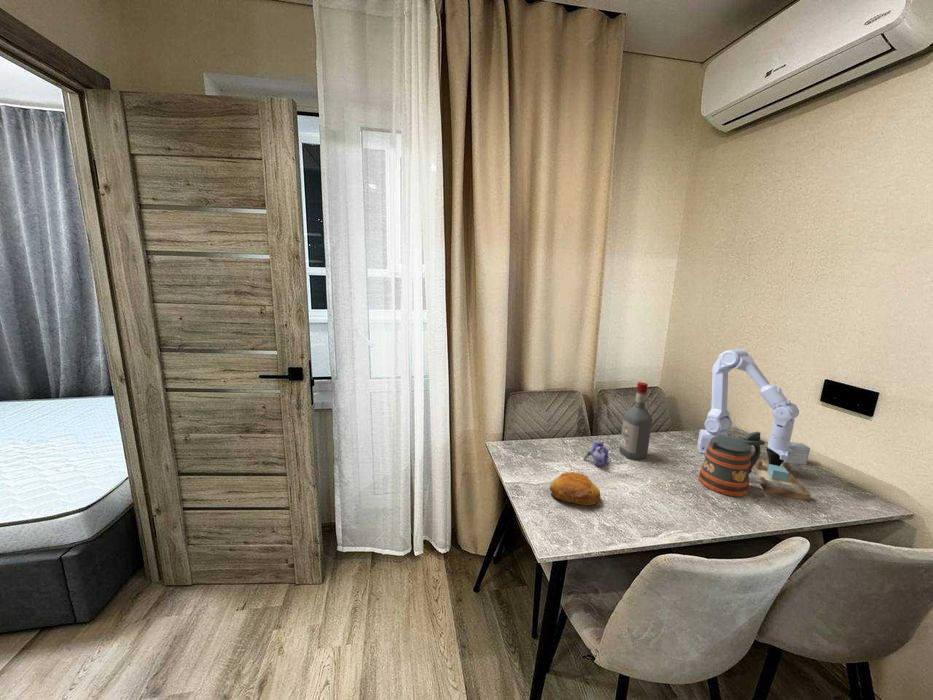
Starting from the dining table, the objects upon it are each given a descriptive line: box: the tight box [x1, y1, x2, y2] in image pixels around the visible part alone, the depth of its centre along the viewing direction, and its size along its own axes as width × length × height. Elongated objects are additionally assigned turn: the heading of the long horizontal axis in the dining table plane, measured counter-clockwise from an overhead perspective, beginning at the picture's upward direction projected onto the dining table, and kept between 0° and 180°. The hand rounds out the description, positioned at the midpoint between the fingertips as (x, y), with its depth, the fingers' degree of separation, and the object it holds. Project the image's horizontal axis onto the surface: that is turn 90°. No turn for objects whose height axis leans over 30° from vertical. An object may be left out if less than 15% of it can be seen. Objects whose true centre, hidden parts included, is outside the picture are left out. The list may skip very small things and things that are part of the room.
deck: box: [752, 457, 812, 503], centre depth 141 cm, size 12×26×4 cm, turn 157°
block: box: [767, 464, 789, 482], centre depth 139 cm, size 4×5×4 cm
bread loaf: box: [549, 471, 601, 506], centre depth 126 cm, size 14×16×8 cm
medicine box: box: [784, 441, 811, 465], centre depth 152 cm, size 8×4×9 cm, turn 84°
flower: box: [583, 441, 610, 468], centre depth 147 cm, size 9×9×10 cm
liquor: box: [618, 381, 653, 461], centre depth 153 cm, size 9×9×30 cm
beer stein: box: [698, 431, 766, 497], centre depth 134 cm, size 19×15×20 cm
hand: (773, 469), depth 143 cm, fingers closed
